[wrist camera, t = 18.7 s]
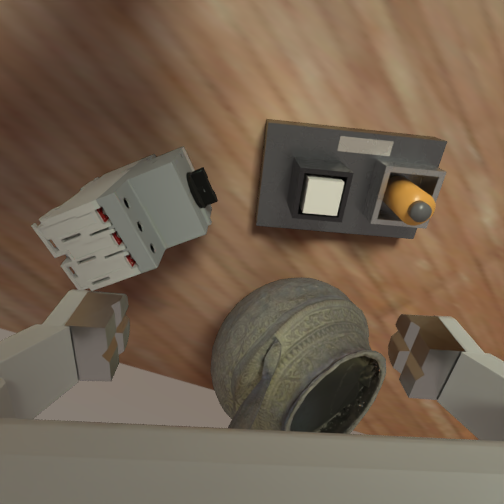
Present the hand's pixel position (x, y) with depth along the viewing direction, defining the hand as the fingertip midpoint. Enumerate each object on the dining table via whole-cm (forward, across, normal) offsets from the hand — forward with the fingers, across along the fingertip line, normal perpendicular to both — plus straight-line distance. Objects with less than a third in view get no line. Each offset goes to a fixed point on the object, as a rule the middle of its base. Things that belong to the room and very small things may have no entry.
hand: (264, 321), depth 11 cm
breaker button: (+31, -8, +4) cm, 32 cm away
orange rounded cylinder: (+31, -18, +4) cm, 36 cm away
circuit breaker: (+34, +10, +7) cm, 36 cm away
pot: (+34, -8, +25) cm, 43 cm away
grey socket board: (+34, -12, +4) cm, 36 cm away
